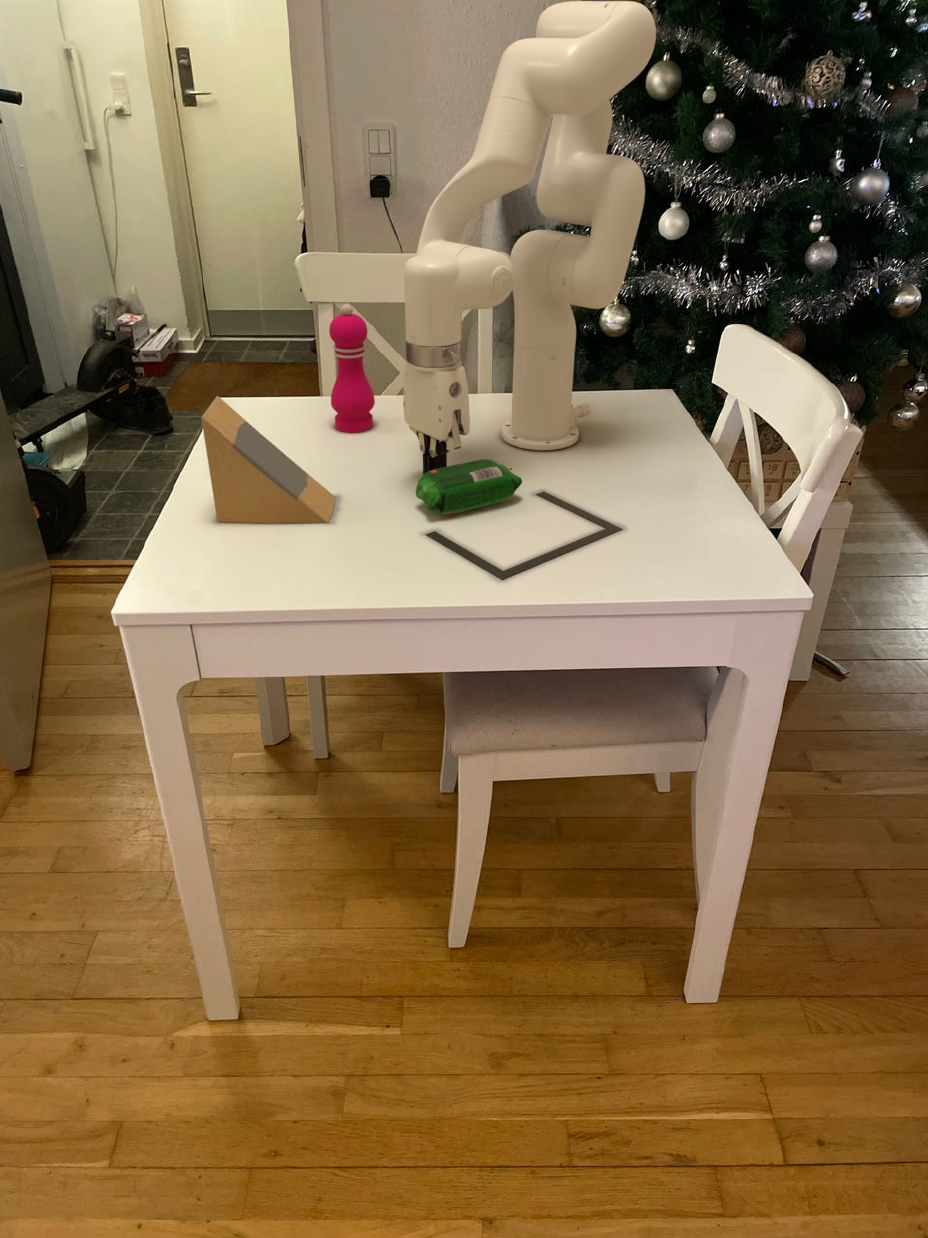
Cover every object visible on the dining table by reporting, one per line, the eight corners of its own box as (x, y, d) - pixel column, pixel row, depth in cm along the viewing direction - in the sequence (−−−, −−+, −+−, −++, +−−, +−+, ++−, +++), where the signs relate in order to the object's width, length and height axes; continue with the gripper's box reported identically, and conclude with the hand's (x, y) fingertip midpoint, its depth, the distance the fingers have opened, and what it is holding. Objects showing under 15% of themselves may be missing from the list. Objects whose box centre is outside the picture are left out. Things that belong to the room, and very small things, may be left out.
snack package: (530, 501, 134) (531, 467, 131) (430, 524, 127) (430, 488, 125) (504, 483, 139) (505, 450, 136) (408, 504, 133) (407, 469, 130)
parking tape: (543, 491, 136) (543, 491, 136) (622, 529, 126) (622, 528, 126) (425, 534, 125) (425, 534, 125) (502, 579, 115) (502, 579, 115)
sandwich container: (329, 523, 127) (321, 417, 119) (216, 523, 127) (200, 416, 119) (337, 496, 135) (329, 394, 127) (230, 495, 135) (215, 393, 127)
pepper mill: (338, 417, 161) (330, 297, 151) (380, 419, 161) (374, 299, 150) (327, 432, 155) (318, 308, 145) (370, 435, 155) (364, 310, 144)
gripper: (490, 360, 125) (487, 488, 135) (422, 335, 135) (424, 456, 144) (445, 371, 121) (446, 502, 131) (379, 345, 131) (384, 468, 140)
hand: (435, 477), depth 137 cm, fingers closed
